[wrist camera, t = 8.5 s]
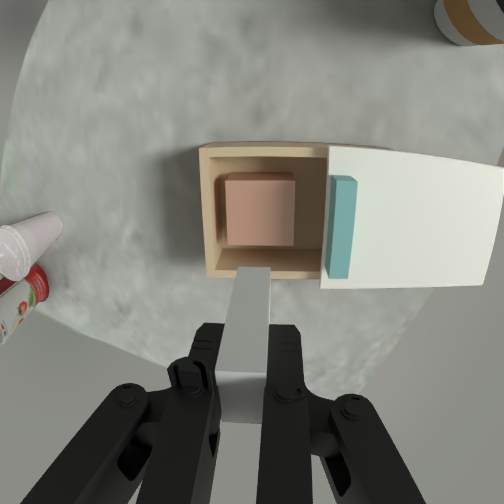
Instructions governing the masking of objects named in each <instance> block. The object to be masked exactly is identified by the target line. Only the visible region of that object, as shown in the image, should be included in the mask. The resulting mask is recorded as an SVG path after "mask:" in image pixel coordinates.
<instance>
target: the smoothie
mask: <svg viewBox="0 0 504 504" xmlns="http://www.w3.org/2000/svg"><path fill="white" fill-rule="evenodd" d="M62 232H63V224H62V221H61V219H60V217H59V216H58V215H57V214H56V213H54V212H46V213H43V214H40V215H37V216H35V217H32V218H29V219H26V220H23V221H20V222H18V223H15V224H12V225H10V226H8V225H2V226H0V272H1V274H2V275H4V276H5V277H6V278H8V279H9V280H12V281H19V280H21V279H22V278H24V277H26V276H27V274H28V273H29V271H30V267H31V266H32V265H33V264H34V263H35V262H36V261H37V260H38V259H39V258H40V256H41V255H42V254H43V253H44V252H45V251H46V250H47V249H48V248H49V247H50V246H51V245H52V244H53V243H54V242H55V241H56V240H57V239H58V238H59V237H60V236H61V234H62Z"/></svg>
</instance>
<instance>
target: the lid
mask: <svg viewBox="0 0 504 504" xmlns="http://www.w3.org/2000/svg"><path fill="white" fill-rule="evenodd" d="M503 195H504V168H503V167H498V166H493V165H488V164H483V163H478V162H472V161H466V160H461V159H455V158H448V157H442V156H435V155H428V154H420V153H412V152H404V151H395V150H385V149H375V148H363V147H349V146H333V145H328V156H327V182H326V201H325V218H324V233H323V246H322V258H321V269H320V280H319V286H320V288H409V287H443V286H469V285H482V284H483V281H484V278H485V275H486V271H487V268H488V264H489V260H490V257H491V253H492V249H493V244H494V241H495V236H496V232H497V227H498V222H499V218H500V212H501V207H502V201H503Z"/></svg>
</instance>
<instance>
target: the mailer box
mask: <svg viewBox="0 0 504 504" xmlns="http://www.w3.org/2000/svg"><path fill="white" fill-rule="evenodd" d="M328 145H333V146H349V147H363V148H375V149H385V150H393V149H390V148H385V147H375V146H363V145H350V144H334V143H314V142H274V141H250V142H212V143H209V144H207V145H205V146H203V147H200V148H199V163H200V183H201V201H202V217H203V231H204V245H205V258H206V270H207V278H236V273H237V269H238V267H271V273H270V279H320V269H321V258H322V246H323V233H324V218H325V201H326V182H327V156H328ZM395 151H396V150H395Z"/></svg>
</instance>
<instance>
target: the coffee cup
mask: <svg viewBox="0 0 504 504" xmlns="http://www.w3.org/2000/svg"><path fill="white" fill-rule="evenodd" d="M434 18H435V21H436V24H437V26H438V28H439V29H440V31H441V32H442V33H443V34H444V36H445V37H447V38H448V39H449V40H450V41H452V42H454V43H456V44H458V45H461V46H475V45H492V44H504V0H438V1H437V2H436V4H435V7H434Z"/></svg>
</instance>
